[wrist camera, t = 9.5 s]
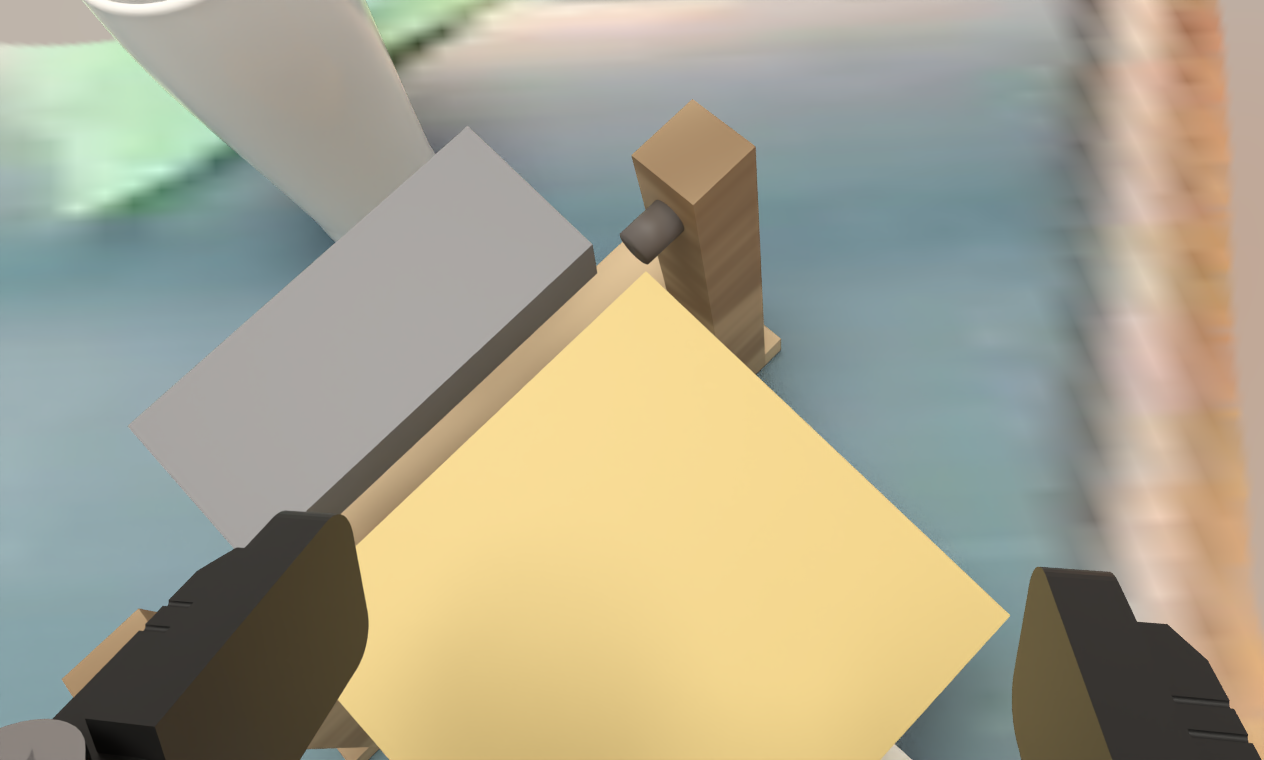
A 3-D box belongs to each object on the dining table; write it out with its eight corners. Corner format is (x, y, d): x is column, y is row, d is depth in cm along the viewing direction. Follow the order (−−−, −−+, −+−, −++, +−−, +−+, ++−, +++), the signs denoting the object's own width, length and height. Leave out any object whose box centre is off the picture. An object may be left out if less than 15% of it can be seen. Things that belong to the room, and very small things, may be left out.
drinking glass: (496, 157, 39) (337, -165, 25) (426, 300, 37) (212, 38, 23) (357, 119, 41) (135, -201, 27) (283, 254, 39) (4, -15, 25)
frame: (247, 611, 34) (-75, 537, 21) (645, 236, 36) (573, -28, 24) (362, 764, 31) (77, 785, 19) (780, 349, 34) (780, 123, 21)
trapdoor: (158, 451, 24) (111, 437, 22) (493, 152, 25) (479, 113, 23) (632, 994, 21) (629, 1037, 18) (977, 614, 22) (1010, 615, 20)
